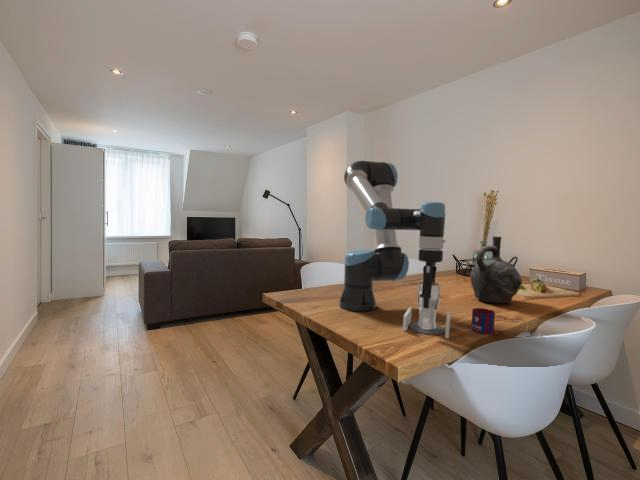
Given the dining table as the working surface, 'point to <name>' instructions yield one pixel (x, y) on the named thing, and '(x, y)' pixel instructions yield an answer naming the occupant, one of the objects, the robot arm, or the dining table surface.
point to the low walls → (408, 319)
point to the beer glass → (435, 295)
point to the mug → (483, 320)
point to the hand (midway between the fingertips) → (427, 312)
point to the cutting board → (542, 291)
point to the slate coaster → (434, 332)
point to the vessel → (494, 276)
